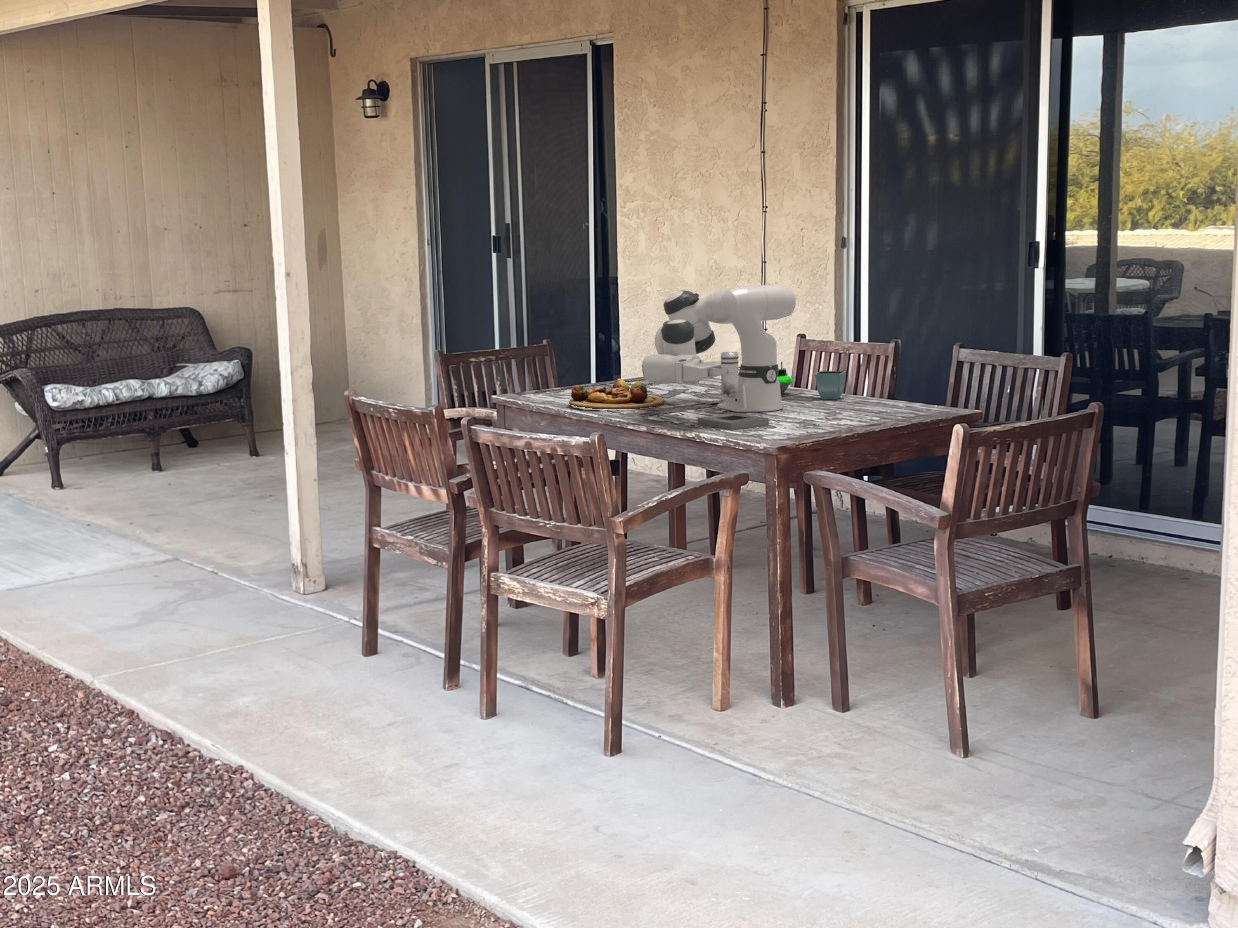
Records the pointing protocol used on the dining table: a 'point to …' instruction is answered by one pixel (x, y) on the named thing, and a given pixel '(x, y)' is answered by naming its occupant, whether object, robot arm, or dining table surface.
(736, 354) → the white pepper mill
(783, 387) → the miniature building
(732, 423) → the bore block
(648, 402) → the wooden plate with food
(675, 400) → the dining table surface
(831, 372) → the flower pot
